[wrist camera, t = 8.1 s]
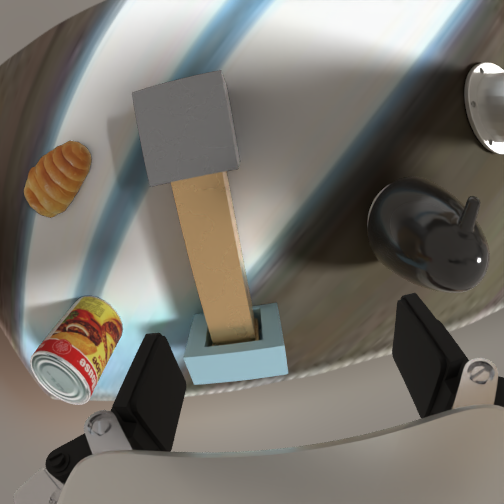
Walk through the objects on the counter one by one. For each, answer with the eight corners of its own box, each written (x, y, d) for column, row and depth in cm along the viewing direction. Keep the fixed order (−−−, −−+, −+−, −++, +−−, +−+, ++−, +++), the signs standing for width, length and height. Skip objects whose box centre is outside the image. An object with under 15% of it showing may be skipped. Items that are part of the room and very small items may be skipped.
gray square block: (226, 85, 26) (221, 70, 20) (240, 161, 29) (238, 168, 22) (156, 101, 27) (131, 92, 20) (171, 175, 29) (150, 187, 23)
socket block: (276, 302, 35) (284, 345, 28) (280, 329, 37) (288, 373, 29) (194, 314, 36) (183, 357, 28) (202, 339, 37) (194, 384, 30)
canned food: (116, 352, 38) (86, 414, 27) (69, 327, 37) (30, 382, 25) (129, 312, 36) (94, 377, 24) (77, 285, 34) (29, 339, 23)
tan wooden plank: (225, 144, 27) (220, 145, 23) (258, 324, 35) (260, 351, 30) (174, 154, 28) (161, 158, 23) (217, 330, 35) (213, 357, 31)
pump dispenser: (429, 166, 29) (524, 195, 15) (429, 248, 33) (505, 310, 19) (351, 174, 30) (430, 209, 16) (357, 263, 34) (418, 344, 19)
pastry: (74, 125, 27) (56, 126, 23) (106, 169, 29) (90, 174, 26) (30, 179, 29) (12, 186, 25) (59, 220, 31) (42, 230, 27)
